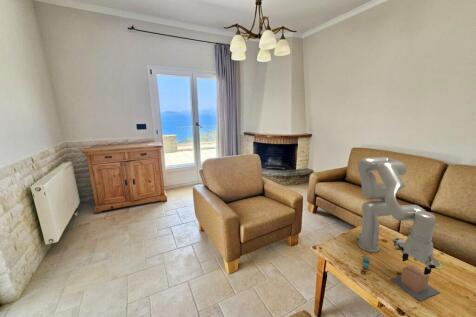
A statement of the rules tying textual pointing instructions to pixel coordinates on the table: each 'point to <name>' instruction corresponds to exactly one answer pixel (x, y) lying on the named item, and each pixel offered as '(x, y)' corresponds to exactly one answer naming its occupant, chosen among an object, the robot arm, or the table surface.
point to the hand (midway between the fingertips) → (415, 266)
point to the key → (438, 268)
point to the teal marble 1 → (366, 259)
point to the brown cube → (414, 278)
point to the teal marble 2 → (365, 265)
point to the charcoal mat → (419, 296)
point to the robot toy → (398, 242)
